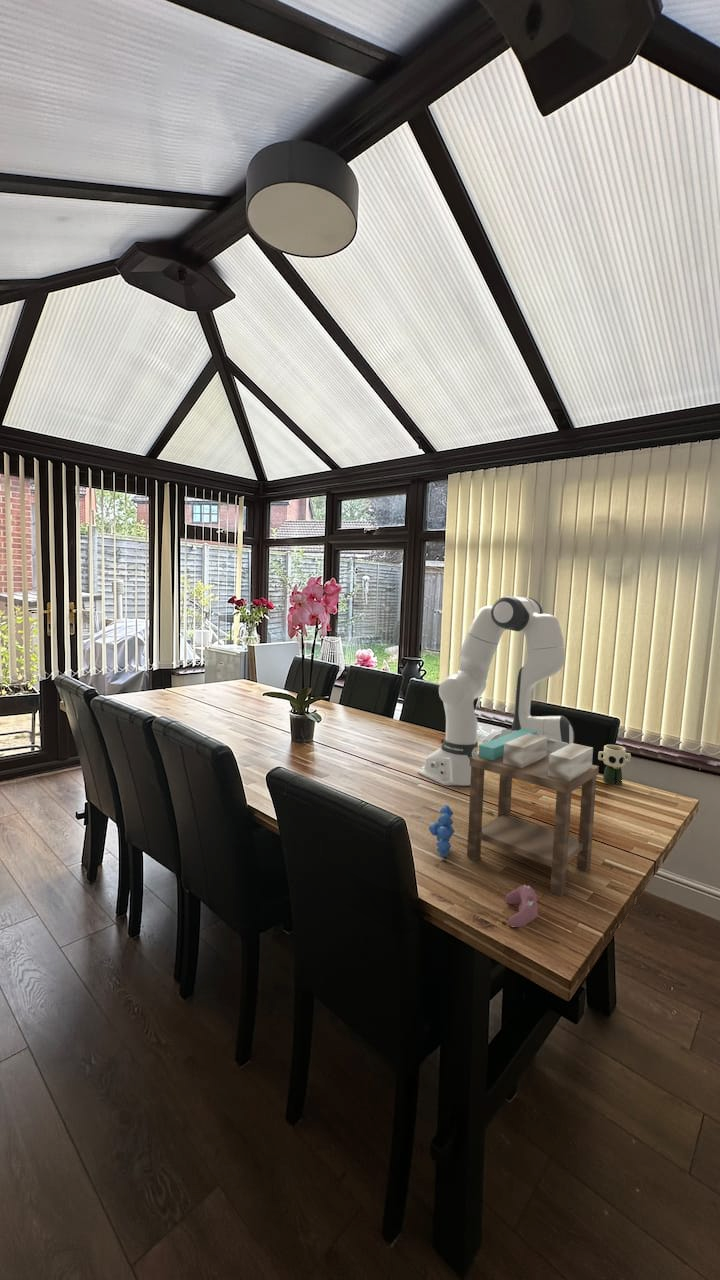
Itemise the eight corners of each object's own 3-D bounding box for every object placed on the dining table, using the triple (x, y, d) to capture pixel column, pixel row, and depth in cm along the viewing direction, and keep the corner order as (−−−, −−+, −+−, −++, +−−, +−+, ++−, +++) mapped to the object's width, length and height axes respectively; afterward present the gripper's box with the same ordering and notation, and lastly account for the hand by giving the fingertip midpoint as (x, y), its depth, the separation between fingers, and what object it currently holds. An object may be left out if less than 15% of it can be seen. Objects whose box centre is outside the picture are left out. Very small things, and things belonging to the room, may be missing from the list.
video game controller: (526, 939, 106) (544, 911, 105) (506, 926, 107) (524, 899, 105) (521, 909, 116) (538, 884, 114) (502, 898, 116) (519, 873, 115)
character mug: (599, 785, 187) (602, 749, 186) (593, 777, 194) (596, 743, 193) (632, 787, 186) (634, 751, 184) (625, 780, 193) (627, 745, 191)
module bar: (478, 756, 134) (479, 745, 133) (523, 738, 151) (523, 728, 150) (492, 760, 131) (493, 748, 130) (536, 741, 148) (537, 731, 148)
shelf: (465, 856, 135) (470, 738, 132) (500, 833, 148) (506, 725, 145) (561, 897, 118) (570, 762, 115) (591, 867, 131) (600, 746, 128)
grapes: (430, 839, 144) (432, 797, 142) (455, 843, 142) (457, 800, 141) (424, 860, 132) (426, 814, 131) (452, 864, 131) (453, 818, 130)
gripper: (513, 733, 164) (494, 717, 155) (579, 748, 150) (563, 732, 141) (507, 752, 162) (488, 738, 153) (573, 769, 148) (557, 754, 139)
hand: (524, 735), depth 147 cm, fingers closed on module bar, 4 cm apart
